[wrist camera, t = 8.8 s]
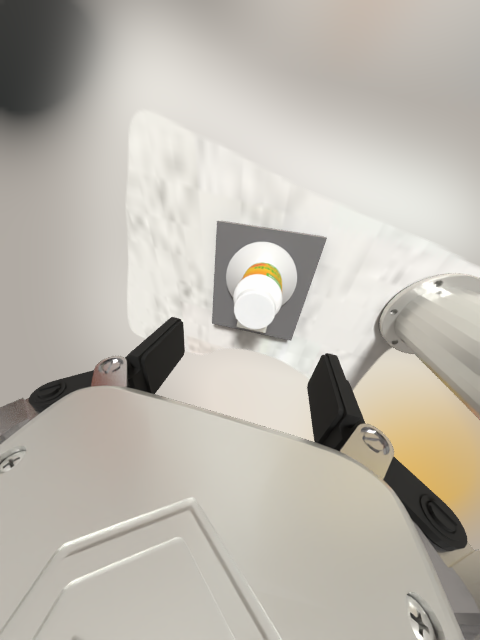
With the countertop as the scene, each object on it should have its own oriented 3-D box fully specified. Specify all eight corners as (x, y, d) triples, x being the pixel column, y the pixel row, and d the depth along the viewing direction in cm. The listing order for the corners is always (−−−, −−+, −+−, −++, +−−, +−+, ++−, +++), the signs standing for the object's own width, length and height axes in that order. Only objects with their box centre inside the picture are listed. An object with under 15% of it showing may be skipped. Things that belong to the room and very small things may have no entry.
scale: (323, 236, 23) (328, 238, 21) (290, 333, 32) (291, 343, 29) (221, 220, 25) (215, 221, 22) (215, 318, 33) (210, 325, 31)
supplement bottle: (288, 270, 24) (294, 298, 15) (272, 303, 26) (269, 342, 18) (251, 255, 23) (236, 275, 15) (238, 290, 26) (220, 323, 18)
